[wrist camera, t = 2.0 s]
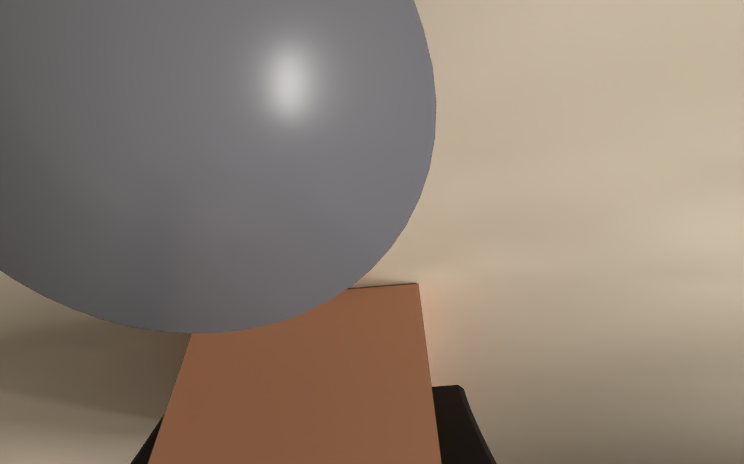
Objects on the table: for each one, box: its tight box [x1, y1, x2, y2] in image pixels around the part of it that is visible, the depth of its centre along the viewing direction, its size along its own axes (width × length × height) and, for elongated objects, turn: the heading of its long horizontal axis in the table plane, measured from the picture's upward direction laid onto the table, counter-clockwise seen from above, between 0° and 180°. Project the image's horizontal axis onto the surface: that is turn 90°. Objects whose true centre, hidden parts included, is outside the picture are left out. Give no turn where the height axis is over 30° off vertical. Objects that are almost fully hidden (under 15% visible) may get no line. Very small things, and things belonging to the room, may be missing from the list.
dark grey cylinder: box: [0, 0, 436, 334], centre depth 7 cm, size 4×4×5 cm
